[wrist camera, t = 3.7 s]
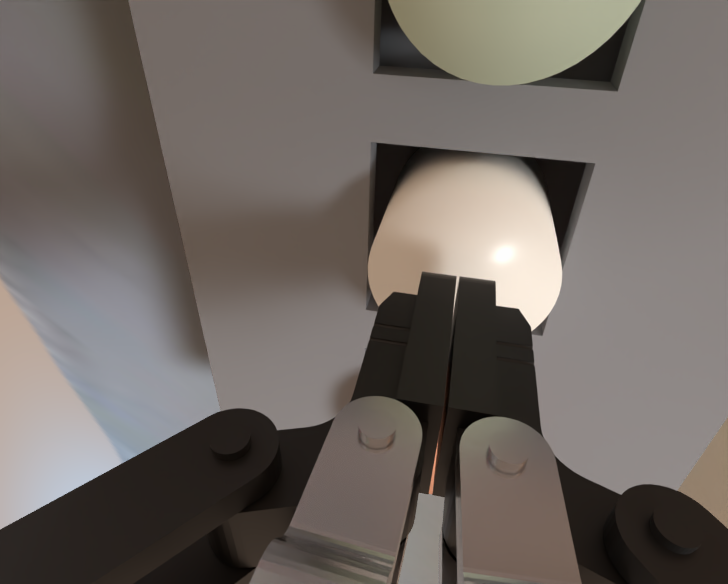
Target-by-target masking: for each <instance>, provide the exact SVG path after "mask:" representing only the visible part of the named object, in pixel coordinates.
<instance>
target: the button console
mask: <svg viewBox="0 0 728 584" xmlns="http://www.w3.org/2000/svg"><path fill="white" fill-rule="evenodd" d="M128 2H129V7H130V11H131V16H132V20H133V24H134V29H135V33H136V38H137V42H138V47H139V51H140V55H141V60H142V64H143V69H144V73H145V78H146V82H147V86H148V91H149V95H150V100H151V104H152V109H153V113H154V118H155V122H156V126H157V131H158V135H159V140H160V144H161V149H162V153H163V157H164V162H165V166H166V171H167V175H168V180H169V184H170V188H171V193H172V197H173V202H174V206H175V211H176V215H177V220H178V224H179V228H180V233H181V237H182V242H183V246H184V251H185V255H186V259H187V264H188V268H189V273H190V277H191V282H192V286H193V290H194V295H195V299H196V304H197V308H198V313H199V317H200V321H201V326H202V330H203V335H204V339H205V344H206V348H207V353H208V357H209V361H210V366H211V370H212V375H213V379H214V384H215V388H216V392H217V397H218V401H219V406H220V410H221V411H224V410H228V409H235V408H244V409H251V410H255V411H258V412H260V413H262V414H264V415H265V416H267V417H268V418H269V419H270V420H271V421H272V422H273V423H274V425H275V426H276V429H277V430H284V429H294V428H304V427H311V426H316V425H319V424H322V423H325V422H327V421H329V420H331V419H333V418H334V417H336V415H337V413H338V412H339V411H340V410H341V409H342V408H343V407H344V406H345V405H347V404H348V403H349V402H350V401H351V398H352V396H353V393H354V389H355V386H356V382H357V379H358V376H359V372H360V369H361V365H362V362H363V359H364V355H365V352H366V349H367V345H368V342H369V340H370V335H371V332H372V328H373V326H374V322H375V318H376V315H377V311H378V308H379V306H378V305H377V303H376V301H375V299H374V297H373V294H372V292H371V289H370V285H369V280H368V260H369V255H370V251H371V247H372V245H373V242H374V240H375V237H376V234H377V232H378V229H379V227H380V224H381V222H382V219H383V216H384V214H385V211H386V209H387V206H388V203H389V201H390V198H391V196H392V193H393V191H394V188H395V185H396V183H397V180H398V178H399V175H400V173H401V171H402V169H403V167H404V166H405V164H406V163H407V161H408V160H409V159H410V158H411V156H412V155H413V154H414V153H415V152H416V151H417V150H418V149H420V148H421V147H428V148H438V149H449V150H459V151H470V152H481V153H491V154H502V155H512V156H523V157H533V158H534V159H535V160H536V162H537V164H538V165H539V167H540V169H541V171H542V173H543V175H544V178H545V182H546V186H547V191H548V196H549V201H550V207H551V212H552V217H553V222H554V227H555V232H556V237H557V243H558V248H559V253H560V258H561V265H562V284H561V288H560V293H559V296H558V298H557V301H556V303H555V305H554V307H553V308H552V310H551V312H550V313H549V314H548V316H547V317H546V318H545V319H544V321H543V322H542V323H541V324H539V325H538V326H537V327H536V328H535V329H534V330H533V331H531V332H532V342H533V348H532V350H533V352H534V366H535V372H536V382H537V392H538V403H539V413H540V423H541V430H542V434H543V437H544V439H545V440H546V441H547V443H548V444H549V445H550V447H551V449H552V451H553V453H554V455H555V456H556V457H557V458H558V459H559V460H560V461H561V462H562V463H563V464H564V465H565V466H567V467H568V468H569V469H571V470H572V471H574V472H575V473H577V474H579V475H580V476H582V477H584V478H586V479H588V480H590V481H593V482H595V483H597V484H599V485H601V486H603V487H606V488H608V489H610V490H612V491H614V492H616V493H618V494H621V495H622V493H623V492H625V491H626V490H627V489H629V488H631V487H633V486H637V485H642V484H654V485H661V486H664V487H668V488H671V489H674V490H676V491H677V490H678V489H679V487H680V486H681V484H682V483H683V481H684V480H685V478H686V477H687V475H688V474H689V473H690V471H691V470H692V468H693V467H694V465H695V464H696V462H697V461H698V459H699V458H700V457H701V455H702V454H703V452H704V451H705V449H706V448H707V446H708V445H709V443H710V442H711V441H712V439H713V438H714V436H715V435H716V433H717V432H718V430H719V429H720V427H721V426H722V425H723V423H724V422H725V420H726V419H727V417H728V0H641V2H640V3H639V5H638V6H637V7H636V9H635V10H634V11H633V13H632V14H631V15H630V16H629V18H628V19H627V20H626V22H625V23H624V24H623V25H622V26H621V27H620V28H619V29H618V30H617V31H616V32H615V33H614V34H613V35H612V36H611V38H610V39H608V40H607V41H606V42H605V43H604V44H603V45H601V46H600V47H599V48H598V49H597V50H595V51H594V52H593V53H592V54H590V55H589V56H587V57H586V58H584V59H583V60H581V61H580V62H578V63H577V64H575V65H573V66H571V67H569V68H567V69H566V70H564V71H562V72H560V73H557V74H555V75H552V76H550V77H547V78H544V79H541V80H537V81H533V82H530V83H525V84H517V85H509V86H505V85H486V84H479V83H475V82H471V81H468V80H464V79H461V78H459V77H457V76H454V75H452V74H450V73H448V72H446V71H444V70H443V69H441V68H440V67H438V66H436V65H435V64H433V63H432V62H431V61H430V60H429V59H427V58H426V57H425V56H424V55H423V54H421V53H420V51H419V50H418V49H417V48H416V47H415V46H414V45H413V44H412V43H411V41H410V40H409V39H408V37H407V36H406V34H405V33H404V31H403V30H402V29H401V27H400V25H399V23H398V22H397V20H396V18H395V16H394V14H393V12H392V10H391V7H390V4H389V2H388V0H128Z"/></svg>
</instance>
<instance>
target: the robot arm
mask: <svg viewBox="0 0 728 584" xmlns="http://www.w3.org/2000/svg"><path fill="white" fill-rule="evenodd" d="M456 279H457V276H453V275H446V274H438V273H430V272H423V271H422V274H421V278H420V283H419V288H418V293H417V295H415V294H407V293H400V292H393V293H392V294H391V295H390V296H389V297H387V298H386V299H385V300H384V301H383V302H382V303H381V304H380V305H379V308H378V311H377V315H376V318H375V322H374V326H373V328H372V332H371V335H370V340H369V342H368V345H367V349H366V352H365V355H364V359H363V362H362V365H361V369H360V372H359V376H358V379H357V382H356V386H355V389H354V393H353V396H352V398H351V401H350V402H349V403H348V404H347V405H345V406H344V407H343V408H342V409H341V410H340V411H339V412H338V413H337V415H336V417H334V418H333V419H331V420H329V421H327V422H325V423H322V424H319V425H316V426H311V427H304V428H294V429H284V430H277V429H276V426H275V425H274V423H273V422H272V421H271V420H270V419H269V418H268V417H267V416H265V415H264V414H262V413H260V412H258V411H255V410H251V409H244V408H235V409H228V410H224V411H221V412H217V413H215V414H213V415H211V416H209V417H207V418H205V419H203V420H202V421H200V422H198V423H196V424H194V425H192V426H190V427H189V428H187V429H185V430H183V431H181V432H179V433H178V434H176V435H174V436H172V437H170V438H168V439H166V440H165V441H163V442H161V443H159V444H157V445H155V446H154V447H152V448H150V449H148V450H146V451H144V452H143V453H141V454H139V455H137V456H135V457H133V458H131V459H130V460H128V461H126V462H124V463H122V464H120V465H119V466H117V467H115V468H113V469H111V470H109V471H108V472H106V473H104V474H102V475H100V476H98V477H97V478H95V479H93V480H91V481H89V482H87V483H85V484H84V485H82V486H80V487H78V488H76V489H74V490H73V491H71V492H69V493H67V494H65V495H64V496H62V497H60V498H58V499H56V500H54V501H52V502H50V503H49V504H47V505H45V506H43V507H41V508H40V509H38V510H36V511H34V512H32V513H30V514H28V515H26V516H25V517H23V518H21V519H19V520H17V521H15V522H13V523H12V524H10V525H8V526H6V527H4V528H2V529H1V530H0V584H398V581H399V576H400V571H401V567H402V562H403V558H404V553H405V548H406V544H407V539H408V534H409V532H410V531H411V529H412V527H413V524H414V520H415V514H416V507H417V501H418V494H419V493H424V494H429V489H430V483H431V477H432V472H433V466H434V460H435V454H436V449H437V455H436V465H435V474H434V484H433V494H432V495H436V496H441V497H445V501H444V514H443V523H442V528H441V532H440V537H439V584H728V529H727V528H726V527H725V526H724V525H723V524H722V523H721V522H720V521H719V520H717V519H716V518H715V517H714V516H713V515H712V514H711V513H710V512H709V511H708V510H706V509H705V508H704V507H703V506H701V505H700V504H699V503H698V502H696V501H695V500H693V499H692V498H690V497H688V496H686V495H685V494H683V493H681V492H679V491H676V490H674V489H671V488H668V487H664V486H661V485H654V484H642V485H637V486H633V487H631V488H629V489H627V490H626V491H625V492H623V493H622V495H621V494H618V493H616V492H614V491H612V490H610V489H608V488H606V487H603V486H601V485H599V484H597V483H595V482H593V481H590V480H588V479H586V478H584V477H582V476H580V475H579V474H577V473H575V472H574V471H572V470H571V469H569V468H568V467H567V466H565V465H564V464H563V463H562V462H561V461H560V460H559V459H558V458H557V457H556V456H555V455H554V453H553V451H552V449H551V447H550V445H549V444H548V443H547V441H546V440H545V439H544V437H543V434H542V430H541V423H540V413H539V403H538V392H537V382H536V372H535V366H534V352H533V350H532V348H533V342H532V332H531V326H530V325H529V323H528V322H527V320H526V319H525V317H524V316H523V314H522V313H521V311H520V310H519V309H517V308H510V307H503V306H496V282H495V281H493V280H485V279H477V278H470V277H462V276H460V277H459V282H458V288H457V294H456V300H455V306H454V299H455V289H456ZM453 309H454V312H453ZM437 443H438V445H437Z"/></svg>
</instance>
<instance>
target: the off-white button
mask: <svg viewBox="0 0 728 584" xmlns="http://www.w3.org/2000/svg"><path fill="white" fill-rule="evenodd" d="M422 271H423V272H430V273H438V274H446V275H453V276H457V279H456V289H455V299H454V306H455V300H456V294H457V288H458V282H459V277H460V276H462V277H470V278H477V279H485V280H493V281H495V282H496V306H503V307H510V308H517V309H519V310H520V311H521V313H522V314H523V316H524V317H525V319H526V320H527V322H528V323H529V325H530V326H531V331H533V330H534V329H535V328H536V327H537V326H538V325H539V324H541V323H542V322H543V321H544V319H545V318H546V317H547V316H548V314H549V313H550V312H551V310H552V308H553V307H554V305H555V303H556V301H557V298H558V296H559V293H560V288H561V284H562V265H561V258H560V253H559V248H558V243H557V237H556V232H555V227H554V222H553V217H552V212H551V207H550V201H549V196H548V191H547V186H546V182H545V178H544V175H543V173H542V171H541V169H540V167H539V165H538V164H537V162H536V160H535V159H534V158H533V157H523V156H512V155H502V154H491V153H481V152H470V151H459V150H449V149H438V148H428V147H421V148H420V149H418V150H417V151H416V152H415V153H414V154H413V155H412V156H411V158H410V159H409V160H408V161H407V163H406V164H405V166H404V167H403V169H402V171H401V173H400V175H399V178H398V180H397V183H396V185H395V188H394V191H393V193H392V196H391V198H390V201H389V203H388V206H387V209H386V211H385V214H384V216H383V219H382V222H381V224H380V227H379V229H378V232H377V234H376V237H375V240H374V242H373V245H372V247H371V251H370V255H369V260H368V280H369V285H370V289H371V292H372V294H373V297H374V299H375V301H376V303H377V305H378V306H379V305H380V304H381V303H382V302H383V301H384V300H385V299H386V298H387V297H389V296H390V295H391V294H392V293H393V292H400V293H407V294H415V295H417V293H418V288H419V283H420V278H421V274H422ZM453 312H454V309H453Z"/></svg>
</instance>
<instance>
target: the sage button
mask: <svg viewBox="0 0 728 584" xmlns="http://www.w3.org/2000/svg"><path fill="white" fill-rule="evenodd" d="M388 2H389V4H390V7H391V10H392V12H393V14H394V16H395V18H396V20H397V22H398V23H399V25H400V27H401V29H402V30H403V31H404V33H405V34H406V36H407V37H408V39H409V40H410V41H411V43H412V44H413V45H414V46H415V47H416V48H417V49H418V50H419V51H420V53H421V54H423V55H424V56H425V57H426V58H427V59H429V60H430V61H431V62H432V63H433V64H435V65H436V66H438V67H440V68H441V69H443V70H444V71H446V72H448V73H450V74H452V75H454V76H457V77H459V78H461V79H464V80H468V81H471V82H475V83H479V84H486V85H505V86H509V85H517V84H525V83H530V82H533V81H537V80H541V79H544V78H547V77H550V76H552V75H555V74H557V73H560V72H562V71H564V70H566V69H567V68H569V67H571V66H573V65H575V64H577V63H578V62H580V61H581V60H583V59H584V58H586V57H587V56H589V55H590V54H592V53H593V52H594V51H595V50H597V49H598V48H599V47H600V46H601V45H603V44H604V43H605V42H606V41H607V40H608V39H610V38H611V36H612V35H613V34H614V33H615V32H616V31H617V30H618V29H619V28H620V27H621V26H622V25H623V24H624V23H625V22H626V20H627V19H628V18H629V16H630V15H631V14H632V13H633V11H634V10H635V9H636V7H637V6H638V5H639V3H640V2H641V0H388Z"/></svg>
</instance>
